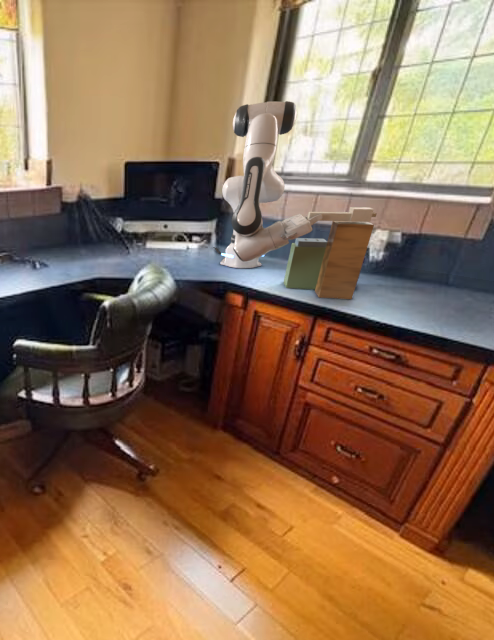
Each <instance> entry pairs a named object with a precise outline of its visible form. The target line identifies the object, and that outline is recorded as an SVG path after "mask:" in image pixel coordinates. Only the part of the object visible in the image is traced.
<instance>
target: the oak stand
mask: <svg viewBox="0 0 494 640" xmlns="http://www.w3.org/2000/svg"><path fill="white" fill-rule="evenodd" d="M374 227H375V224H373V223H372V222H350V221H331V226H330V230H329V233H328V234H329V235H328V238H327V240H326V241H327V245H326V249H325V253H324V257H323V261H322V265H321V269H320V273H319V277H318V281H317V285H316V289H314V293H315V294H316V295H317V297H318V298H319V299H320V298H321V299H336V300H337V299H340V300H353V297H354V294H355V290H356V288H357V285H358V282H357V280H358V281H359V279H358V277H359V278H360V276H359V274H360V275H361V272H360V270H361V271H362V269H361V267H362V268H363V266H362V264H363V265H364V263H363V260H364V257H365V258H366V254H367V250H368V246H369V243H370V240H371V237H372V233H373V230H374ZM364 261H365V260H364ZM356 284H357V285H356ZM355 287H356V288H355Z"/></svg>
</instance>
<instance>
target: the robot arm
mask: <svg viewBox="0 0 494 640" xmlns="http://www.w3.org/2000/svg"><path fill="white" fill-rule="evenodd" d="M297 110H298V109H297V105H296V103H295V102H293V101H290V100H289V101H288V100H286V101H266V102H257V103H253V104H248V103H247V104H244V105H241V106H239V107H238V108H237V110H236V111H235V114H234V117H233V119H232V129H233V133H234V134H235V135H236V136H237V137H241V138H244V137H245V142H244V146H243V148H244V149H243V155H242V169H243V170H242V171H243V175H235V176H231V177H228V178H227V179H226V180H225V181H224V184H223V185H222V189H221V195H222V197H223V199H224V200H225V202H227V203H228V204H229V205H230V207H231V210H232V212H233V214H232V216H231V221H230V222H231V227H232V230H233V231H232V234H231V237H230V243H229V245H228V246H227V247H226V248H225V250H224V253H223V252H221V251H219V250H218V248H217V247H216V248H214V250H215V252H216V253H217V254H219V255H220V256H223V257H224V258H223V259H222V260H220V263H219V264H220V265H221V266H226V267H230V268H236V269H253V268H256V267H257V268H258V267H262V263H261V261H259V258H261V257H265V255H267V253H269V252H271V251H276V250H278V249H280V248H283V247H285V246H286V245H289V244H290V241H293V240H296V238H302V237H303V236H305V235H307V234H310V233H311V232H312V231H313V227H312V226H313V225H314V224H316V223H317V222H318V221H319V220H321V219H322V218H323V217H322V214H318V215H316V216H315V217H313V218H311V219H308V220H307V217H308V215H306V216H303V215H302V214H301V213H298V214H295V215H292V216H291V217H288V218H286V219H283V220H278V221H275V222H274V223H272V224H271V225H269V226H266V227H264V226H263V225H264V224H263V223H264V222H263V217H262V216H263V215H262V211H261V207H260V204H261V203H262V204H263V203H264V204H266V203H267V204H268V203H272V202H277V201H278V200H279V199H280V198H282V196H283V194H284V193H285V192H284V191H285V181H284V179H283V178H282V177H281V176H280V175H278V174H277V172H276V170H275V169H274V166H273V163H274V161H275V157H276V153H277V148H278V147H277V146H278V137H279V135H280V136H282V135H285V134H288V133H289V132H291V131H292V130H293V127H294V126H295V124H296V121H297V118H298V111H297ZM319 222H320V221H319Z"/></svg>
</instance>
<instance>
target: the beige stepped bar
mask: <svg viewBox="0 0 494 640" xmlns="http://www.w3.org/2000/svg"><path fill="white" fill-rule="evenodd" d="M374 210H375V209H374V208H372V207H369V206H368V207H366V206H365V207H362V206H359V207H358V206H357V207H355V206H350V207H349V210H348V211H308V214H307V216H308V217H307V220H308V219H311V218H313V217H315V216H316V215H318V214H322V217H323V218H322V219H321V220H319V222H333V221H350V222H369V223H371V220H372V218H376V217H377V214H378V213H377V212H375V211H374Z"/></svg>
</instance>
